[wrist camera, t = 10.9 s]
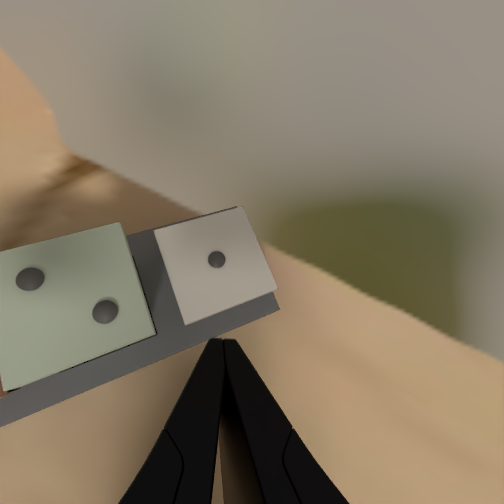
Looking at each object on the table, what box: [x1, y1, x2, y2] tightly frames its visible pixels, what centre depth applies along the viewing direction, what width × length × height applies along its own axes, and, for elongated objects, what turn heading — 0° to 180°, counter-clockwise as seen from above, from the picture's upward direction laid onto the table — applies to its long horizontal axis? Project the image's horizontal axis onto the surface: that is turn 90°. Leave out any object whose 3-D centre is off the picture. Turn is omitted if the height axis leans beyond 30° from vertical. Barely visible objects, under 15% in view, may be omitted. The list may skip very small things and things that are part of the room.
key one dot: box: [153, 206, 278, 326], centre depth 19 cm, size 6×6×7 cm
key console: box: [0, 206, 280, 427], centre depth 18 cm, size 8×21×5 cm, turn 112°
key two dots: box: [0, 222, 156, 391], centre depth 15 cm, size 6×6×7 cm
